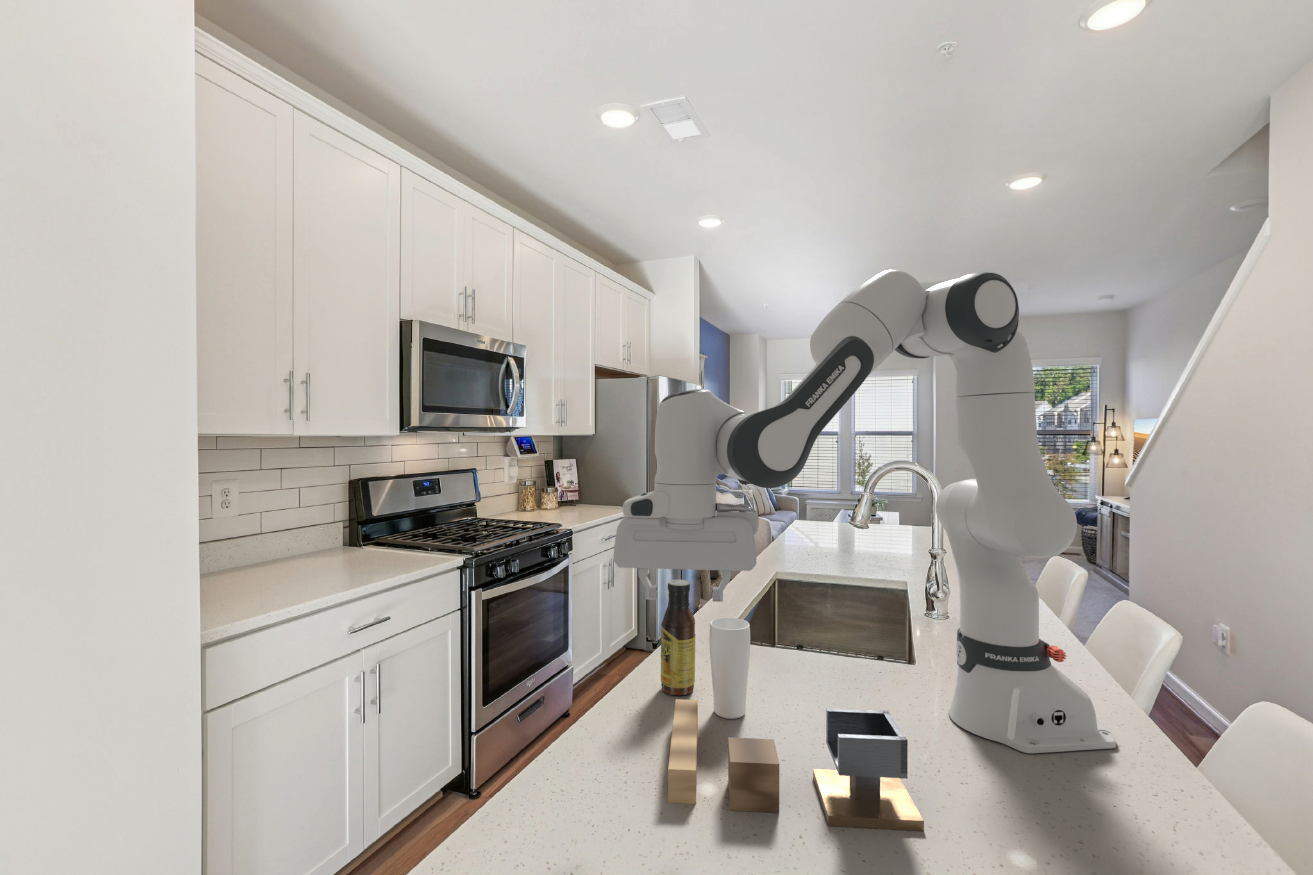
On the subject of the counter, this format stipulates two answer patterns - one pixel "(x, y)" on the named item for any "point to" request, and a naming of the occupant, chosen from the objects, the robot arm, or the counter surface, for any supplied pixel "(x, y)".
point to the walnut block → (753, 775)
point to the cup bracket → (866, 772)
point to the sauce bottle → (678, 641)
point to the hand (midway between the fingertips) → (684, 599)
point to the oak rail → (683, 753)
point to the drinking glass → (729, 665)
